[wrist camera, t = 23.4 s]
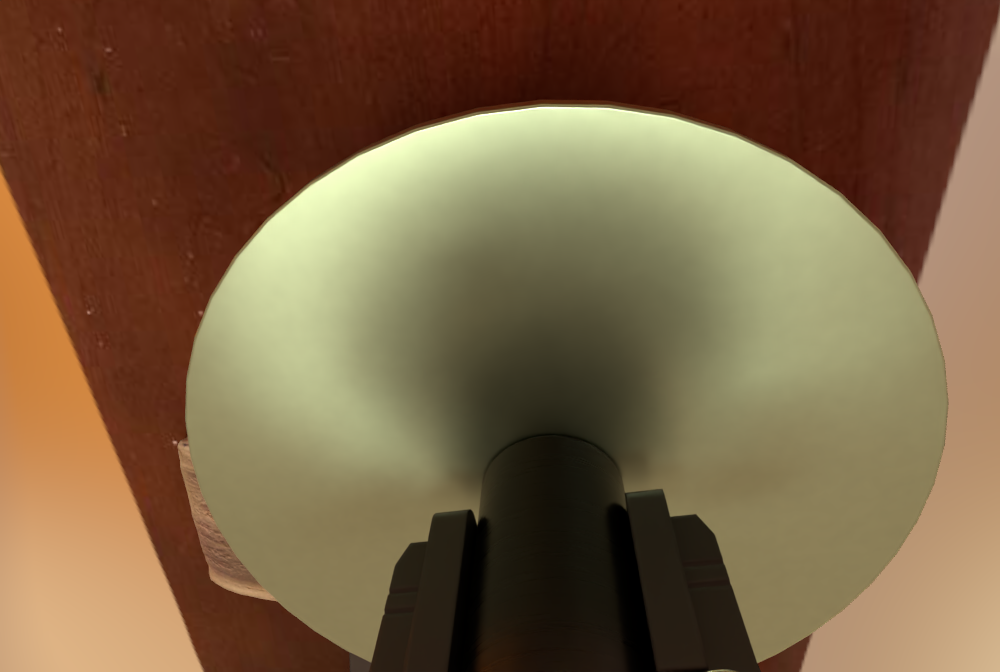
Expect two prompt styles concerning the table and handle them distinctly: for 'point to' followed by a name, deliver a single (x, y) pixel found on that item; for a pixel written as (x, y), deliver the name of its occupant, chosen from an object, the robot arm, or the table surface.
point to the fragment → (216, 538)
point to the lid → (565, 380)
